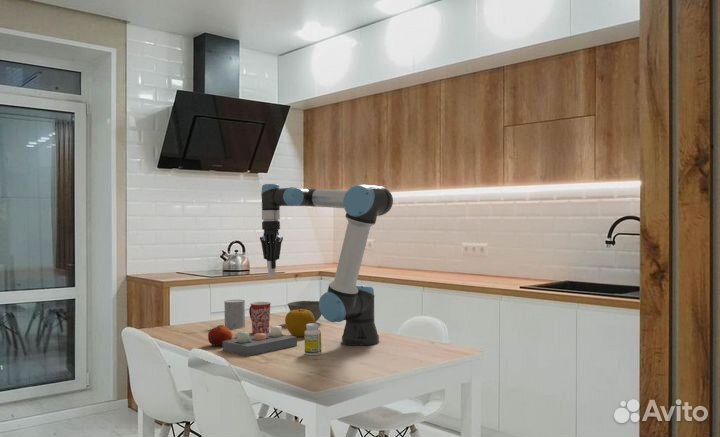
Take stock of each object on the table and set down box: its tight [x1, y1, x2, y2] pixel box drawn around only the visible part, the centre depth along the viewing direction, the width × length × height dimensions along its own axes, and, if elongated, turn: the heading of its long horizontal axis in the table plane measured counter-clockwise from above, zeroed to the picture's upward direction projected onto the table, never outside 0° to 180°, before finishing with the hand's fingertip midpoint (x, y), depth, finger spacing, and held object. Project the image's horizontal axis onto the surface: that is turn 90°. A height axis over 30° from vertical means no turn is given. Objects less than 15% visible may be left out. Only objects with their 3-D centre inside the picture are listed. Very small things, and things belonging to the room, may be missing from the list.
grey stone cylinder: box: [224, 299, 246, 330], centre depth 286 cm, size 10×10×12 cm
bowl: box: [286, 300, 322, 323], centre depth 293 cm, size 19×19×10 cm
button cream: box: [270, 325, 283, 338], centre depth 243 cm, size 4×4×4 cm
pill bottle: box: [303, 322, 322, 356], centre depth 225 cm, size 6×6×11 cm
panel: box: [222, 331, 298, 357], centre depth 237 cm, size 16×24×4 cm, turn 137°
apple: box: [284, 309, 316, 338], centre depth 262 cm, size 13×13×11 cm
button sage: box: [236, 331, 250, 344], centre depth 231 cm, size 4×4×4 cm
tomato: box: [207, 324, 233, 347], centre depth 244 cm, size 9×9×8 cm
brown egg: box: [253, 333, 266, 341], centre depth 237 cm, size 4×4×4 cm
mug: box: [248, 301, 272, 335], centre depth 270 cm, size 13×9×14 cm
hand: (271, 276), depth 256 cm, fingers closed
